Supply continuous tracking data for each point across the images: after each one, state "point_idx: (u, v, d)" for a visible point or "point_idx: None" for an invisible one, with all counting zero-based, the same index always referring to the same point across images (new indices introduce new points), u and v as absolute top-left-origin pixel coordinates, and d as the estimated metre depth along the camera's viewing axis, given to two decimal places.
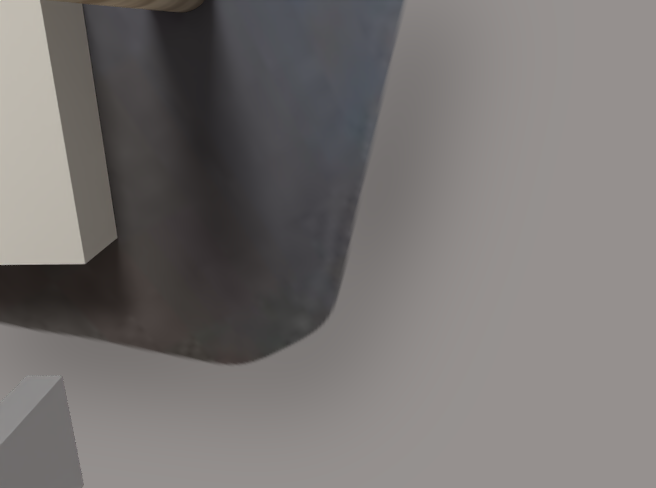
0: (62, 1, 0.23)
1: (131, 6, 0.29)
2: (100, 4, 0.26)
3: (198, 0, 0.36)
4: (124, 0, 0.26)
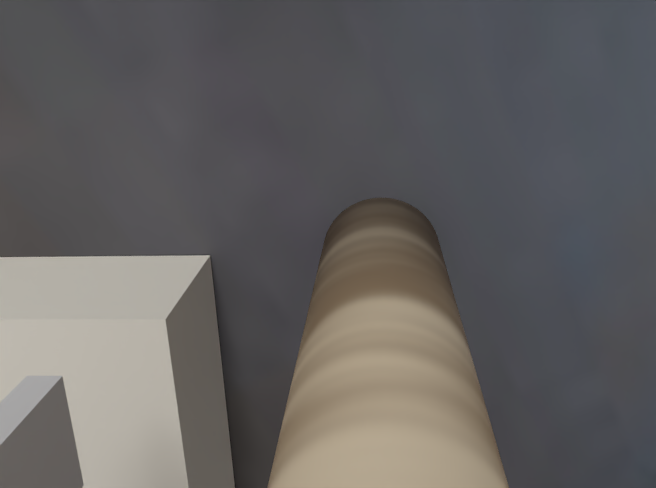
0: None
1: None
2: None
3: None
4: None
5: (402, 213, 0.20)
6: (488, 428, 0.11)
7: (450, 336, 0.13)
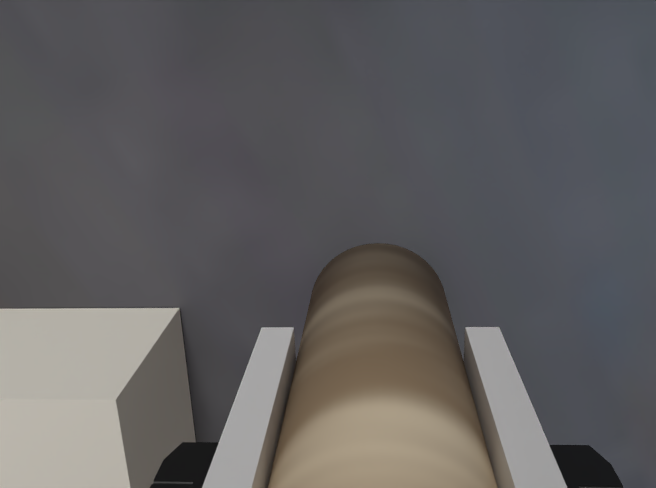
0: None
1: None
2: None
3: None
4: None
5: (403, 264, 0.17)
6: None
7: (468, 456, 0.10)
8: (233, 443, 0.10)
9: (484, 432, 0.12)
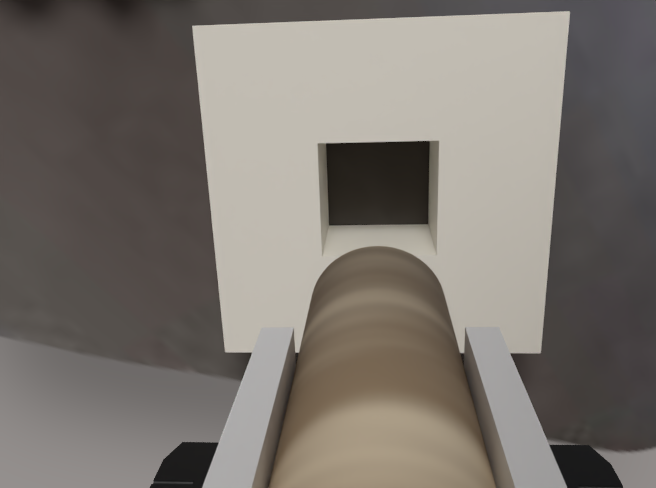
0: None
1: None
2: None
3: None
4: None
5: (402, 267, 0.17)
6: None
7: (467, 460, 0.10)
8: (233, 443, 0.10)
9: (484, 432, 0.12)
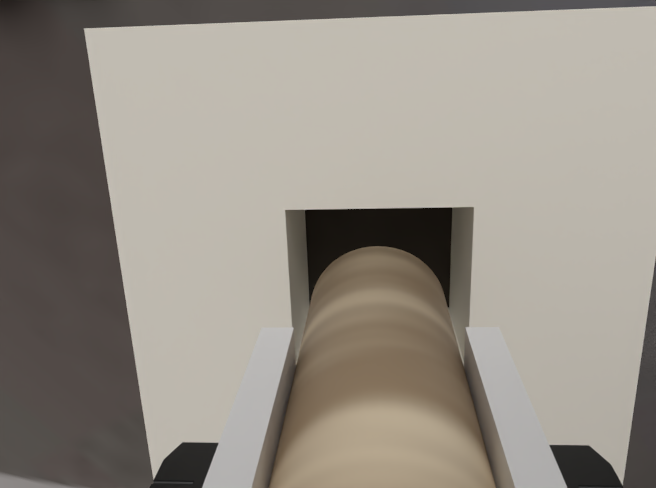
0: None
1: None
2: None
3: None
4: None
5: (402, 267, 0.17)
6: None
7: (467, 461, 0.10)
8: (233, 443, 0.10)
9: (484, 432, 0.12)
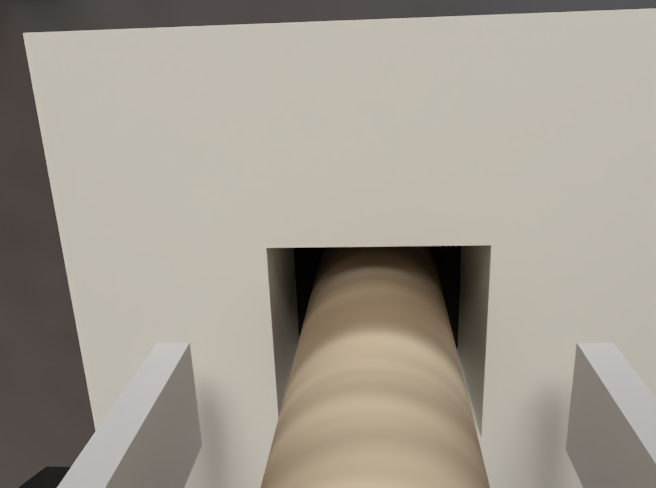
0: None
1: None
2: None
3: None
4: None
5: None
6: (482, 479, 0.10)
7: (444, 374, 0.12)
8: (84, 471, 0.10)
9: (622, 459, 0.11)
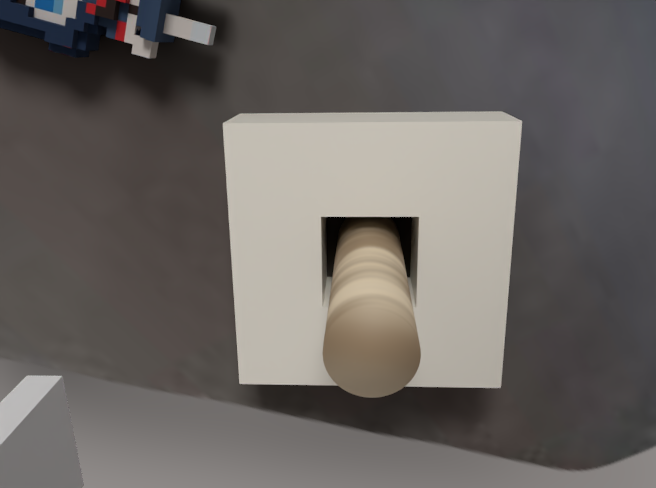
0: None
1: None
2: None
3: None
4: None
5: None
6: (407, 287, 0.30)
7: (396, 261, 0.32)
8: None
9: None
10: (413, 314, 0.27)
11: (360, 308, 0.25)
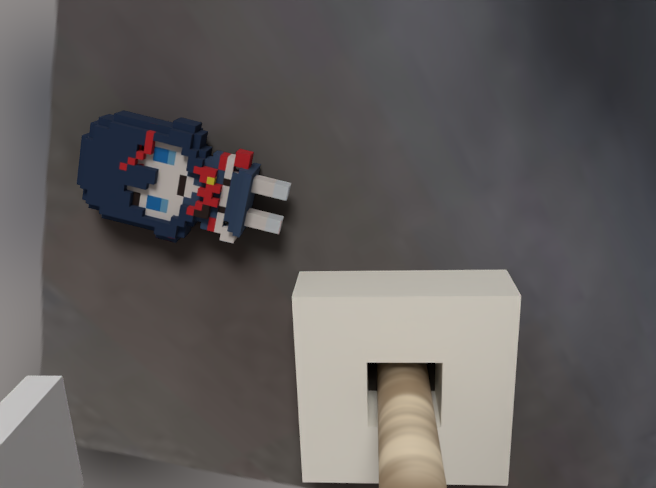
0: None
1: None
2: None
3: None
4: None
5: None
6: (436, 435, 0.40)
7: (427, 407, 0.42)
8: None
9: None
10: (442, 464, 0.38)
11: (405, 471, 0.36)
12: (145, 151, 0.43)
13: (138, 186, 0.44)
